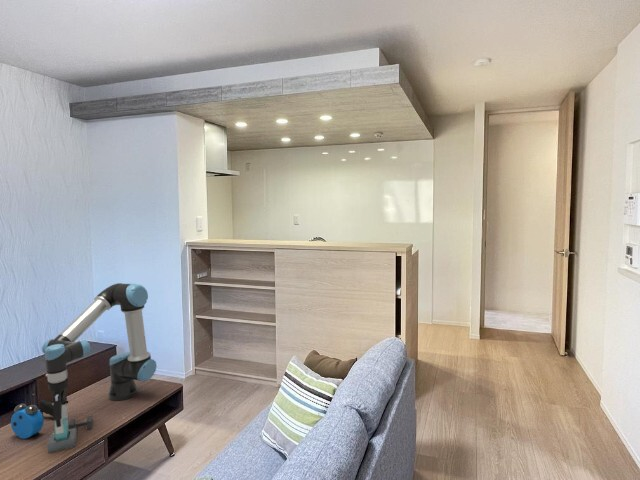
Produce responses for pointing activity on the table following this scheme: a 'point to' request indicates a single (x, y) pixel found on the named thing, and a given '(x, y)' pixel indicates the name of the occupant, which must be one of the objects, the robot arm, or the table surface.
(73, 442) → the port panel
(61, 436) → the plug
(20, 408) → the alarm clock
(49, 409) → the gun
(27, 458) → the table surface
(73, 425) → the grey u-shaped bracket
